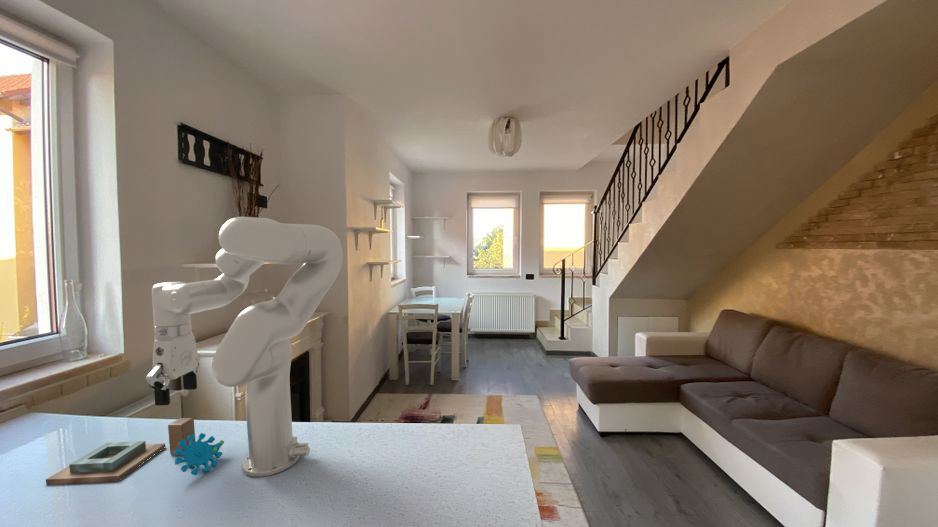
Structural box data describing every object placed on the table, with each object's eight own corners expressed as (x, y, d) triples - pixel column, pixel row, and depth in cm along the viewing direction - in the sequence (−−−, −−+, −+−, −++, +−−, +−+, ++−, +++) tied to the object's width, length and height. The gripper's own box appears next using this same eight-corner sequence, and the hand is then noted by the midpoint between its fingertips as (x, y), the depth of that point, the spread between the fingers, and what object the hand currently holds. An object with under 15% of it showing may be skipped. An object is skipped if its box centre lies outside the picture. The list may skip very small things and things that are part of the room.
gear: (185, 478, 85) (169, 439, 88) (173, 494, 86) (157, 455, 90) (234, 459, 95) (218, 424, 98) (222, 473, 96) (206, 438, 100)
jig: (165, 447, 101) (164, 436, 101) (118, 481, 87) (117, 467, 87) (103, 450, 101) (102, 438, 101) (46, 484, 87) (44, 470, 87)
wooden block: (196, 447, 101) (194, 417, 101) (184, 455, 97) (181, 424, 97) (182, 446, 102) (180, 417, 101) (169, 455, 98) (167, 424, 97)
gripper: (162, 339, 89) (166, 411, 90) (210, 323, 106) (213, 383, 107) (129, 340, 89) (134, 412, 90) (182, 323, 106) (185, 384, 107)
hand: (177, 396), depth 99 cm, fingers open, 9 cm apart
